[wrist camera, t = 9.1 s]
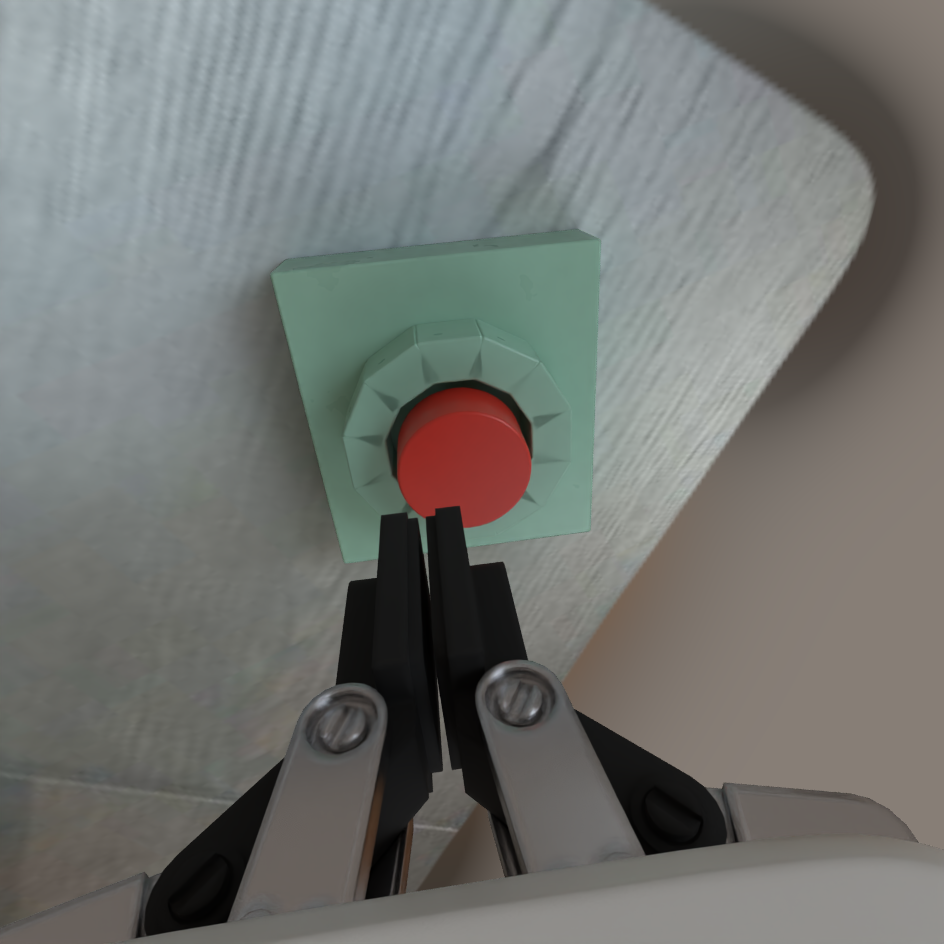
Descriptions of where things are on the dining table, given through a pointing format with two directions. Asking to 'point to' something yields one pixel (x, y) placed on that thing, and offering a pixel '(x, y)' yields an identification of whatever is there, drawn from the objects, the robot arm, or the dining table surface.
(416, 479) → the button
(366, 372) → the control block
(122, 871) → the dining table surface
